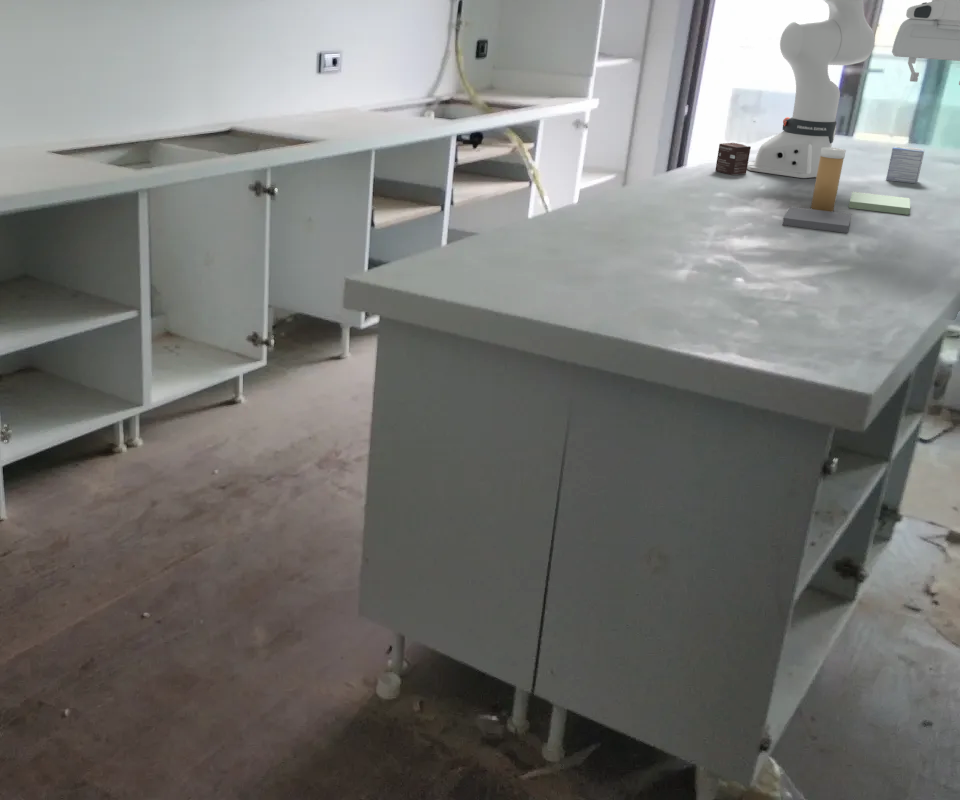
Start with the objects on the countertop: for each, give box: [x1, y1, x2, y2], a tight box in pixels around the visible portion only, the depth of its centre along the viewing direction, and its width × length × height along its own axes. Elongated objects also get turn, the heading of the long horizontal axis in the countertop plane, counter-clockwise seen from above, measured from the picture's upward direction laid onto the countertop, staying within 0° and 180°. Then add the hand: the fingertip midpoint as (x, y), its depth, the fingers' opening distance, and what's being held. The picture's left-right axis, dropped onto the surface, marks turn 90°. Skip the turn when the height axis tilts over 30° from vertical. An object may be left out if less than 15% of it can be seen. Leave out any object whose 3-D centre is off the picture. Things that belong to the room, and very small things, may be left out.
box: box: [715, 142, 752, 176], centre depth 259 cm, size 6×6×7 cm
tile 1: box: [782, 206, 852, 234], centre depth 207 cm, size 13×13×2 cm
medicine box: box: [885, 145, 925, 184], centre depth 259 cm, size 8×4×9 cm, turn 65°
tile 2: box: [848, 191, 911, 216], centre depth 227 cm, size 13×13×2 cm
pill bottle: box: [810, 146, 847, 212], centre depth 218 cm, size 5×5×13 cm
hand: (937, 83), depth 200 cm, fingers open, 8 cm apart
